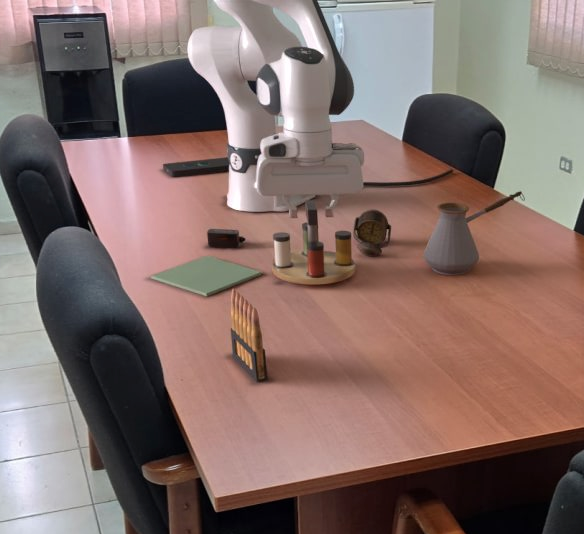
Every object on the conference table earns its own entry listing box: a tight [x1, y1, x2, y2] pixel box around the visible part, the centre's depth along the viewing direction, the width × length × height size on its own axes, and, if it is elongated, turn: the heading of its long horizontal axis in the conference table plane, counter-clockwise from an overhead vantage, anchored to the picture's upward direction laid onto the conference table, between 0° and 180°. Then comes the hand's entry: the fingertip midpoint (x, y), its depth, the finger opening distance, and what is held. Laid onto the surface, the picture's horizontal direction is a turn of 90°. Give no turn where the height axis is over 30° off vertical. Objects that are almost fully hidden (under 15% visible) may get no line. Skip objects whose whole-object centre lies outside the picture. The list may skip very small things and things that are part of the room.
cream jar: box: [272, 231, 292, 267], centre depth 186 cm, size 3×3×6 cm
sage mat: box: [150, 255, 263, 297], centre depth 186 cm, size 15×15×1 cm
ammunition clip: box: [230, 288, 269, 383], centre depth 150 cm, size 11×2×12 cm, turn 32°
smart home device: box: [162, 156, 230, 178], centre depth 252 cm, size 8×2×20 cm
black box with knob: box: [206, 228, 246, 249], centre depth 201 cm, size 5×7×3 cm, turn 89°
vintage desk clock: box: [352, 209, 392, 257], centre depth 203 cm, size 7×13×10 cm
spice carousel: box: [271, 199, 356, 285], centre depth 186 cm, size 16×16×13 cm
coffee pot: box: [422, 190, 526, 276], centre depth 193 cm, size 21×12×15 cm, turn 112°
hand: (311, 217), depth 183 cm, fingers open, 5 cm apart
